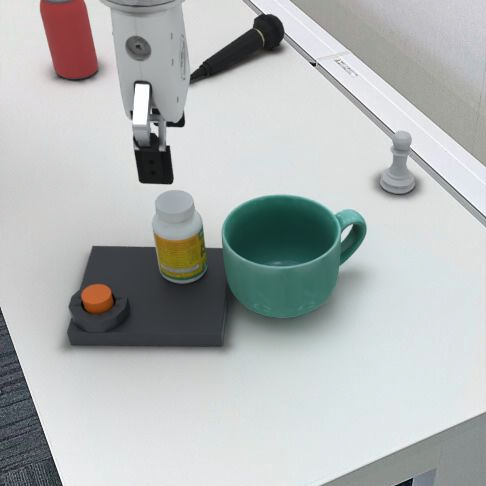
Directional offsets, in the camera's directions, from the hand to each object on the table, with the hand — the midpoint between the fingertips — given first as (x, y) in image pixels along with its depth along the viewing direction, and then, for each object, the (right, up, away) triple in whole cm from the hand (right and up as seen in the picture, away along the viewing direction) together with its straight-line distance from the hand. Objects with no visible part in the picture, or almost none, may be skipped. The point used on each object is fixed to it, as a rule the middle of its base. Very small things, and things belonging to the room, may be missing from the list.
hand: (163, 152), depth 76 cm
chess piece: (+25, +3, +28) cm, 37 cm away
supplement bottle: (0, -11, +11) cm, 16 cm away
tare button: (-8, -15, +5) cm, 18 cm away
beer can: (-24, +24, +44) cm, 55 cm away
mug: (+13, -13, +13) cm, 22 cm away
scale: (-3, -14, +10) cm, 18 cm away
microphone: (0, +27, +48) cm, 56 cm away
